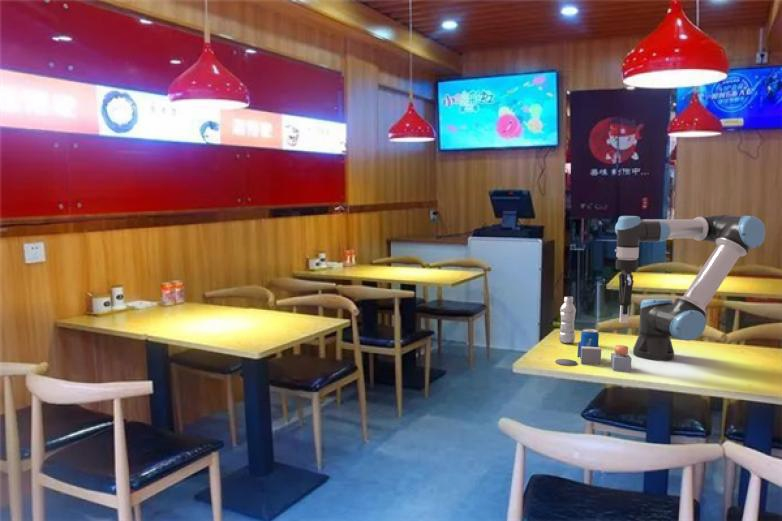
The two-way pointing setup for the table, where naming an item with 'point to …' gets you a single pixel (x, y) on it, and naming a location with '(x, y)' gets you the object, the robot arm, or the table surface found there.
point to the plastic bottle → (567, 321)
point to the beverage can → (589, 338)
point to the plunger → (621, 350)
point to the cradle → (589, 354)
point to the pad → (566, 362)
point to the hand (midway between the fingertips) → (623, 322)
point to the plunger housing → (620, 362)
